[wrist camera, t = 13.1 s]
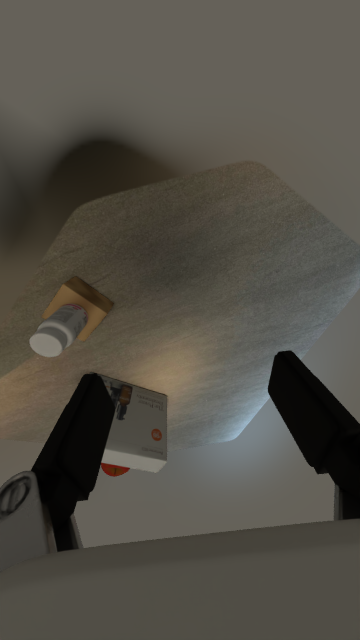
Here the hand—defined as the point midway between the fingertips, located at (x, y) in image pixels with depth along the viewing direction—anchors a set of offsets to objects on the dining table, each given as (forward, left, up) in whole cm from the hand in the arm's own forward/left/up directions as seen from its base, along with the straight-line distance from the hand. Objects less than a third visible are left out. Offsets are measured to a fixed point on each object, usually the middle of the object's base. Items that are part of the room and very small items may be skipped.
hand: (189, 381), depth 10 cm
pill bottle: (+5, -18, -22) cm, 29 cm away
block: (+5, -18, -26) cm, 32 cm away
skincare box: (+30, -16, -26) cm, 43 cm away
